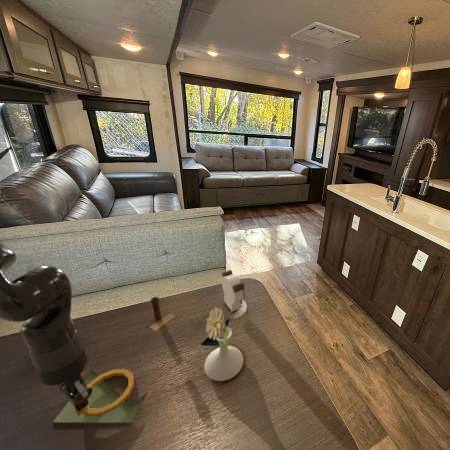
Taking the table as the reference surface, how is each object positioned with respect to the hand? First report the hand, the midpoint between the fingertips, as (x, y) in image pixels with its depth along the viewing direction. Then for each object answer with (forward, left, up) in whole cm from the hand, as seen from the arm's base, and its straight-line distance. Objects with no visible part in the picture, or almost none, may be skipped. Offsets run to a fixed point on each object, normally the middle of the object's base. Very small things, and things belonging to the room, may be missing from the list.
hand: (81, 405), depth 59 cm
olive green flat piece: (0, +6, -4) cm, 7 cm away
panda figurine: (+5, +47, -4) cm, 48 cm away
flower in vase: (+20, +27, -4) cm, 34 cm away
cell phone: (+7, +37, -5) cm, 38 cm away
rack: (-12, +28, -4) cm, 31 cm away
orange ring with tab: (0, +5, -3) cm, 6 cm away
